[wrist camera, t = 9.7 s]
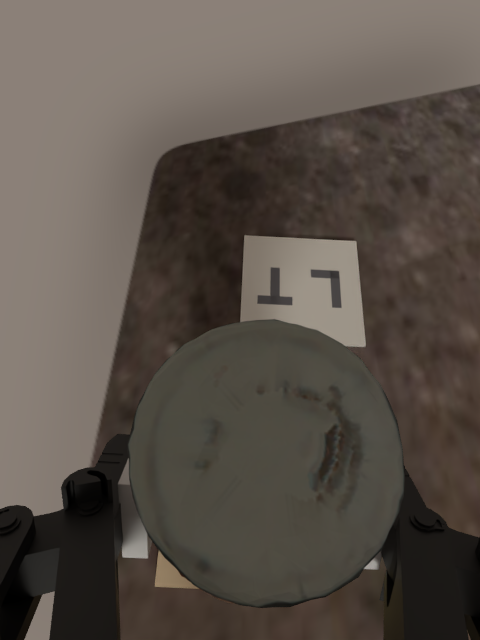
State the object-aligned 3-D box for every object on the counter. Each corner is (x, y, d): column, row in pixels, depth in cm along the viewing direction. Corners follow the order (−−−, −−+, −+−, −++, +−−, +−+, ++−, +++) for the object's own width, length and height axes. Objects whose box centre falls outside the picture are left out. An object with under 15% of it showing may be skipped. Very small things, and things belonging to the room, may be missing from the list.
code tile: (355, 243, 33) (356, 241, 33) (364, 347, 29) (365, 345, 29) (244, 237, 33) (244, 235, 33) (239, 340, 29) (239, 338, 29)
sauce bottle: (320, 506, 24) (626, 485, 6) (241, 594, 22) (321, 996, 4) (242, 421, 26) (286, 204, 8) (163, 495, 24) (-34, 441, 6)
